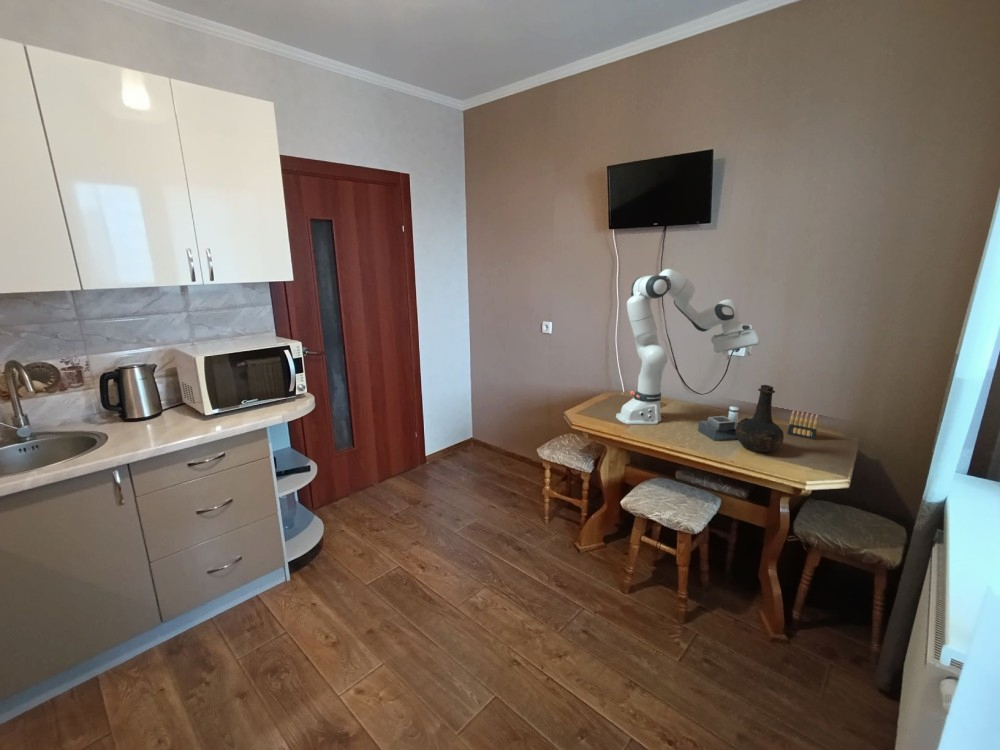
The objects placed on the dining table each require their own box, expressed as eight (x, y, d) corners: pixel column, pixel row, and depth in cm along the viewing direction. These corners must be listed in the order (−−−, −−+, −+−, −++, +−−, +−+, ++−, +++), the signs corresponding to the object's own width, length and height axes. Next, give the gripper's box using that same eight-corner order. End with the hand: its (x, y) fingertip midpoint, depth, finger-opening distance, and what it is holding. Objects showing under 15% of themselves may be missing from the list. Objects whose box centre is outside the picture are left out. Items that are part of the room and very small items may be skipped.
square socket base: (714, 440, 195) (716, 425, 193) (697, 430, 207) (699, 416, 205) (742, 438, 198) (744, 422, 196) (724, 428, 209) (726, 414, 207)
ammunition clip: (787, 434, 202) (791, 409, 199) (787, 433, 204) (791, 408, 201) (815, 440, 195) (819, 414, 192) (815, 438, 197) (820, 413, 194)
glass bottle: (742, 436, 200) (750, 377, 193) (787, 448, 187) (797, 385, 180) (726, 447, 188) (735, 385, 181) (773, 461, 175) (784, 394, 168)
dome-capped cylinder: (730, 426, 212) (733, 409, 210) (725, 423, 216) (727, 406, 213) (738, 426, 212) (740, 408, 210) (732, 423, 216) (735, 405, 214)
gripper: (709, 334, 222) (715, 360, 218) (755, 324, 212) (762, 351, 209) (710, 337, 227) (716, 363, 224) (755, 327, 217) (762, 354, 214)
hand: (738, 357), depth 216 cm, fingers open, 8 cm apart
